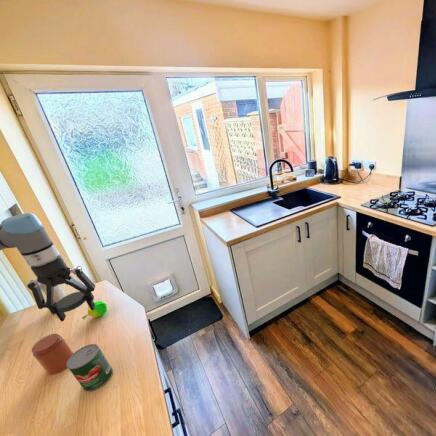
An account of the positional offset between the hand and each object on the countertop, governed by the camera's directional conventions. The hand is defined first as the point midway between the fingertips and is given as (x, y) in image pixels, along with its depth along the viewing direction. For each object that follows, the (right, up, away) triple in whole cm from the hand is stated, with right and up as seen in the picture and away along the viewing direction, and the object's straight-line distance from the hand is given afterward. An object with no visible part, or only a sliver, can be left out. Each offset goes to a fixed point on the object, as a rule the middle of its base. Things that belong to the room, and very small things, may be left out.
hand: (78, 313), depth 88 cm
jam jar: (-3, -16, -3) cm, 17 cm away
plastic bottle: (-28, -6, +24) cm, 38 cm away
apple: (-6, -8, +16) cm, 19 cm away
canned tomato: (+15, -17, -10) cm, 25 cm away
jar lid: (-1, +5, -2) cm, 6 cm away
